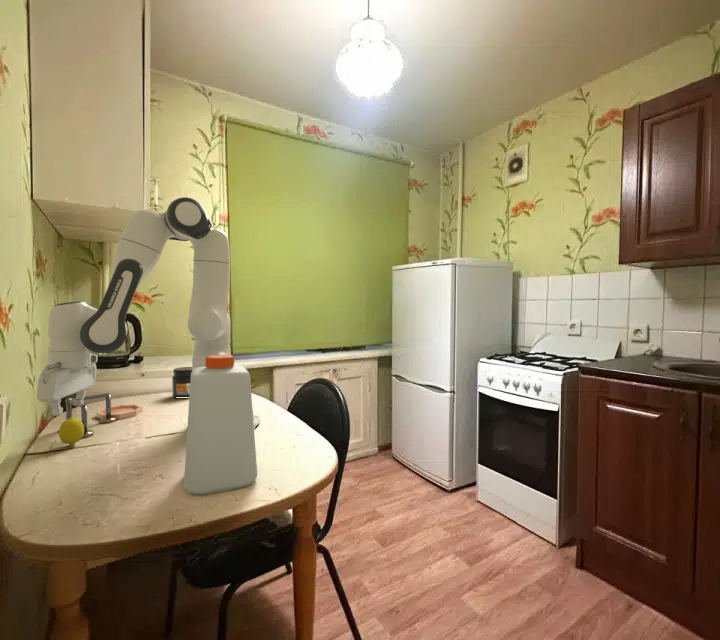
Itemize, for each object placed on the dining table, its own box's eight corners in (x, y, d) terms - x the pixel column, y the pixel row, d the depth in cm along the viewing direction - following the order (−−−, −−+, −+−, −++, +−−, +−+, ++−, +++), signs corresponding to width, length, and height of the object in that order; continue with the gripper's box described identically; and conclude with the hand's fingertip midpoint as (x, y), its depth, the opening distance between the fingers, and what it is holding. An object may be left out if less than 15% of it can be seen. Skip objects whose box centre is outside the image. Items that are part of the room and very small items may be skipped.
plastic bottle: (185, 470, 89) (183, 353, 88) (250, 460, 95) (250, 350, 94) (183, 501, 75) (181, 363, 74) (260, 486, 81) (259, 359, 80)
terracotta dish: (146, 408, 141) (146, 404, 141) (131, 419, 128) (131, 413, 128) (109, 410, 139) (109, 405, 139) (90, 420, 126) (90, 415, 126)
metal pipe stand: (118, 419, 128) (118, 390, 128) (88, 437, 110) (87, 404, 110) (79, 420, 126) (78, 391, 126) (41, 440, 108) (40, 406, 108)
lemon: (55, 447, 103) (54, 418, 103) (78, 440, 108) (77, 413, 107) (65, 450, 100) (64, 421, 100) (88, 444, 105) (87, 416, 105)
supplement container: (195, 399, 156) (194, 370, 156) (168, 399, 155) (168, 370, 154) (202, 393, 166) (202, 366, 166) (177, 393, 165) (176, 366, 165)
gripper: (57, 366, 93) (57, 421, 94) (100, 355, 113) (100, 400, 114) (28, 366, 92) (28, 421, 93) (77, 355, 112) (77, 400, 113)
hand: (68, 409), depth 103 cm, fingers open, 8 cm apart
